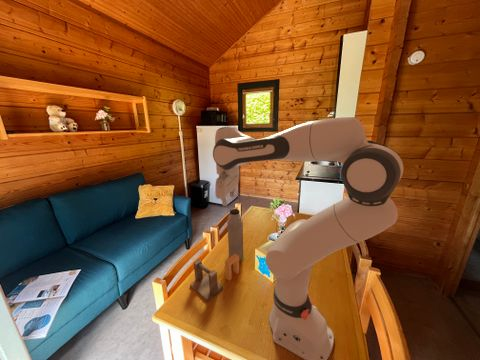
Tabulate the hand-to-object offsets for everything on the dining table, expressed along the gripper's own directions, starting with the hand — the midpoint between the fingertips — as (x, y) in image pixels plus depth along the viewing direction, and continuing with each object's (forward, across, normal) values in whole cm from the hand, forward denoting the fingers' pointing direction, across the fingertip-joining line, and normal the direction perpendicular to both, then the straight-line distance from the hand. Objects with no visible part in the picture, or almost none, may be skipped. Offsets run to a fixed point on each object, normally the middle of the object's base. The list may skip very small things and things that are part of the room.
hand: (228, 200), depth 84 cm
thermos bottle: (+41, +15, +2) cm, 43 cm away
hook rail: (+40, -8, +10) cm, 42 cm away
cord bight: (+40, +2, 0) cm, 40 cm away
